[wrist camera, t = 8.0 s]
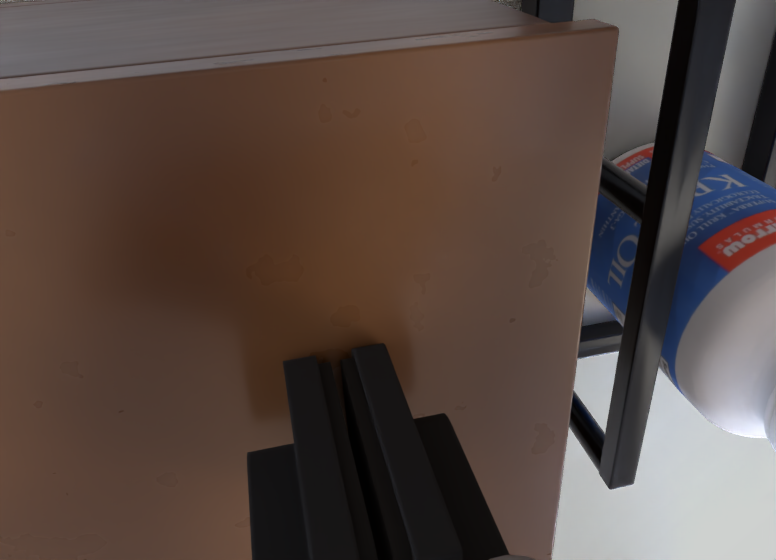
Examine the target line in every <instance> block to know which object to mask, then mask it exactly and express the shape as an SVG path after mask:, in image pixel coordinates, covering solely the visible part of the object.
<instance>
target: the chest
mask: <svg viewBox="0 0 776 560" xmlns="http://www.w3.org/2000/svg"><path fill="white" fill-rule="evenodd" d="M548 23H550V22H548V21H545V20H542V19H540V18H537V17H535V16H532V15H529V14H527V13H524V12H521V11H519V10H516V9H514V8H511V7H508V6H506V5H503V4H500V3H498V2H495V1H493V0H37V1H25V2H13V3H1V4H0V79H8V78H18V77H28V76H37V75H47V74H57V73H67V72H77V71H86V70H96V69H106V68H116V67H126V66H136V65H145V64H155V63H165V62H175V61H185V60H195V59H204V58H214V57H224V56H234V55H244V54H253V53H263V52H273V51H283V50H293V49H303V48H312V47H322V46H332V45H342V44H352V43H361V42H371V41H381V40H391V39H401V38H411V37H420V36H430V35H440V34H450V33H460V32H469V31H479V30H489V29H499V28H509V27H519V26H528V25H538V24H548Z"/></svg>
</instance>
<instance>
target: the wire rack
mask: <svg viewBox="0 0 776 560" xmlns="http://www.w3.org/2000/svg"><path fill="white" fill-rule="evenodd" d="M735 3H736V0H678V6H677V12H676V18H675V23H674V29H673V35H672V41H671V47H670V53H669V59H668V65H667V71H666V77H665V83H664V89H663V95H662V101H661V107H660V112H659V118H658V124H657V130H656V136H655V142H654V148H653V154H652V160H651V166H650V172H649V178H648V184H647V185H645V184H644V183H642V182H641V181H639V180H638V179H636V178H635V177H633V176H632V175H630V174H629V173H627V172H626V171H624V170H623V169H621V168H620V167H618V166H617V165H615V164H614V163H613V162H611V161H610V160H608V159H607V158H605V157H604V156H603V161H602V169H601V177H600V185H599V193H600V194H601V195H603V196H604V197H605V198H607V199H608V200H609V201H610V202H612V203H613V204H614V205H616V206H617V207H618V208H619V209H621V210H622V211H623V212H625V213H626V214H627V215H628V216H630V217H631V218H632V219H634V220H635V221H636V222H637V223H639V224H640V231H639V237H638V243H637V249H636V255H635V261H634V267H633V273H632V279H631V285H630V290H629V296H628V302H627V308H626V314H625V320H624V326H622V325H621V324H620V323H619V322H618V321H617V320H616V321H610V322H605V323H599V324H594V325H589V326H583V327H581V334H580V342H579V350H578V358H577V359H582V358H587V357H592V356H597V355H602V354H608V353H613V352H618V351H619V356H618V362H617V368H616V373H615V379H614V385H613V391H612V397H611V403H610V409H609V415H608V421H607V427H606V433H604V432H603V430H602V429H601V428H600V426H599V425H598V423H597V422H596V421H595V419H594V418H593V416H592V415H591V414H590V412H589V411H588V409H587V408H586V407H585V405H584V404H583V403H582V401H581V400H580V398H579V397H578V396H577V394H576V393H575V391H574V390H573V397H572V405H571V413H570V421H569V427H570V429H571V430H572V432H573V433H574V435H575V436H576V438H577V439H578V441H579V442H580V444H581V445H582V447H583V448H584V450H585V451H586V453H587V454H588V456H589V457H590V459H591V461H592V462H593V464H594V465H595V467H596V468H597V470H598V471H599V474H600V476H601V478H602V479H603V481H604V482H605V484H606V485H607V487H608V488H609V489H616V488H620V487H624V486H629V485H632V484H634V480H635V475H636V470H637V466H638V461H639V456H640V452H641V447H642V442H643V437H644V433H645V428H646V423H647V418H648V414H649V409H650V404H651V400H652V395H653V390H654V385H655V381H656V376H657V371H658V366H659V362H660V357H661V352H662V348H663V343H664V338H665V333H666V329H667V324H668V319H669V314H670V310H671V305H672V300H673V296H674V291H675V286H676V281H677V277H678V272H679V267H680V262H681V258H682V253H683V248H684V244H685V239H686V234H687V229H688V225H689V220H690V215H691V210H692V206H693V201H694V196H695V192H696V187H697V182H698V177H699V173H700V168H701V163H702V158H703V154H704V149H705V144H706V140H707V135H708V130H709V125H710V121H711V116H712V111H713V107H714V102H715V97H716V92H717V88H718V83H719V78H720V73H721V69H722V64H723V59H724V55H725V50H726V45H727V40H728V36H729V31H730V26H731V21H732V17H733V12H734V7H735ZM573 10H574V0H522V12H524V13H527V14H529V15H532V16H535V17H537V18H540V19H542V20H545V21H548V22H550V23H558V22H568V21H573ZM742 171H744V172H746V173H748V174H749V175H751V176H753V177H755V178H757V179H759V180H760V181H762V182H764V183H766V184H768V185H769V186H771V187H773V188H775V189H776V33H775V37H774V42H773V46H772V50H771V54H770V58H769V62H768V66H767V70H766V74H765V78H764V82H763V86H762V90H761V94H760V98H759V102H758V106H757V110H756V114H755V118H754V122H753V126H752V130H751V135H750V139H749V143H748V147H747V151H746V155H745V159H744V163H743V167H742Z"/></svg>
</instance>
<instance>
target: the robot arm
mask: <svg viewBox="0 0 776 560" xmlns="http://www.w3.org/2000/svg"><path fill="white" fill-rule="evenodd" d="M351 356H352V358H347V359H342V360H340V365H341V374H342V383H343V392H344V400H345V409H346V417H347V426H348V432H347V428H346V424H345V420H344V416H343V412H342V407H341V403H340V399H339V395H338V391H337V387H336V383H335V379H334V375H333V371H332V366H331V363H330V362H326V363H320V364H318V363H317V359H316V355H314V356H309V357H303V358H297V359H292V360H286V361H283V368H284V375H285V382H286V389H287V397H288V404H289V411H290V418H291V425H292V432H293V439H294V443H292V444H287V445H282V446H277V447H272V448H267V449H262V450H257V451H252V452H247V475H248V494H249V512H250V531H251V550H252V560H536V559H533V558H530V557H527V556H518V555H510V554H509V552H508V550H507V547H506V545H505V543H504V541H503V538H502V536H501V534H500V532H499V529H498V527H497V525H496V523H495V520H494V518H493V516H492V514H491V511H490V509H489V507H488V505H487V502H486V500H485V498H484V496H483V493H482V491H481V489H480V487H479V484H478V482H477V480H476V478H475V475H474V473H473V471H472V469H471V466H470V464H469V462H468V460H467V457H466V455H465V453H464V451H463V448H462V446H461V444H460V442H459V439H458V437H457V435H456V433H455V430H454V428H453V426H452V424H451V422H450V420H449V418H448V416H447V415H446V414H445V413H441V414H436V415H431V416H426V417H421V418H416V419H413V417H412V414H411V411H410V409H409V406H408V403H407V401H406V398H405V395H404V393H403V390H402V387H401V385H400V382H399V379H398V377H397V374H396V371H395V369H394V366H393V363H392V361H391V358H390V355H389V353H388V350H387V347H386V345H385V344H384V343H381V344H375V345H370V346H364V347H359V348H353V349H352V350H351ZM348 435H349V436H348Z"/></svg>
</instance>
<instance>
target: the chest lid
mask: <svg viewBox="0 0 776 560" xmlns="http://www.w3.org/2000/svg"><path fill="white" fill-rule="evenodd" d="M618 35H619V28H618V27H617V26H614V25H611V24H608V23H605V22H602V21H599V20H595V19H587V20H578V21H568V22H558V23H548V24H538V25H528V26H519V27H509V28H499V29H489V30H479V31H469V32H460V33H450V34H440V35H430V36H420V37H411V38H401V39H391V40H381V41H371V42H361V43H352V44H342V45H332V46H322V47H312V48H303V49H293V50H283V51H273V52H263V53H253V54H244V55H234V56H224V57H214V58H204V59H195V60H185V61H175V62H165V63H155V64H145V65H136V66H126V67H116V68H106V69H96V70H86V71H77V72H67V73H57V74H47V75H37V76H28V77H18V78H8V79H0V560H252V550H251V531H250V512H249V494H248V475H247V452H252V451H257V450H262V449H267V448H272V447H277V446H282V445H287V444H292V443H294V439H293V432H292V425H291V418H290V411H289V404H288V397H287V389H286V382H285V375H284V368H283V361H286V360H292V359H297V358H303V357H309V356H314V355H316V359H317V363H318V364H320V363H326V362H330V363H331V366H332V371H333V375H334V379H335V383H336V387H337V391H338V395H339V399H340V403H341V407H342V412H343V416H344V420H345V424H346V428H347V432H348V426H347V417H346V409H345V400H344V392H343V383H342V374H341V365H340V360H342V359H347V358H352V356H351V350H352V349H353V348H359V347H364V346H370V345H375V344H381V343H384V344H385V345H386V347H387V350H388V353H389V355H390V358H391V361H392V363H393V366H394V369H395V371H396V374H397V377H398V379H399V382H400V385H401V387H402V390H403V393H404V395H405V398H406V401H407V403H408V406H409V409H410V411H411V414H412V417H413V419H416V418H421V417H426V416H431V415H436V414H441V413H445V414H446V415H447V416H448V418H449V420H450V422H451V424H452V426H453V428H454V430H455V433H456V435H457V437H458V439H459V442H460V444H461V446H462V448H463V451H464V453H465V455H466V457H467V460H468V462H469V464H470V466H471V469H472V471H473V473H474V475H475V478H476V480H477V482H478V484H479V487H480V489H481V491H482V493H483V496H484V498H485V500H486V502H487V505H488V507H489V509H490V511H491V514H492V516H493V518H494V520H495V523H496V525H497V527H498V529H499V532H500V534H501V536H502V538H503V541H504V543H505V545H506V547H507V550H508V552H509V554H510V555H518V556H527V557H530V558H533V559H536V560H552V555H553V547H554V539H555V531H556V523H557V515H558V507H559V499H560V492H561V484H562V476H563V468H564V460H565V452H566V444H567V437H568V429H569V421H570V413H571V405H572V397H573V389H574V381H575V374H576V366H577V358H578V350H579V342H580V334H581V326H582V319H583V311H584V303H585V295H586V287H587V279H588V271H589V263H590V256H591V248H592V240H593V232H594V224H595V216H596V208H597V201H598V193H599V185H600V177H601V169H602V161H603V153H604V145H605V138H606V130H607V122H608V114H609V106H610V98H611V90H612V83H613V75H614V67H615V59H616V51H617V43H618ZM348 436H349V435H348Z"/></svg>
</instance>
